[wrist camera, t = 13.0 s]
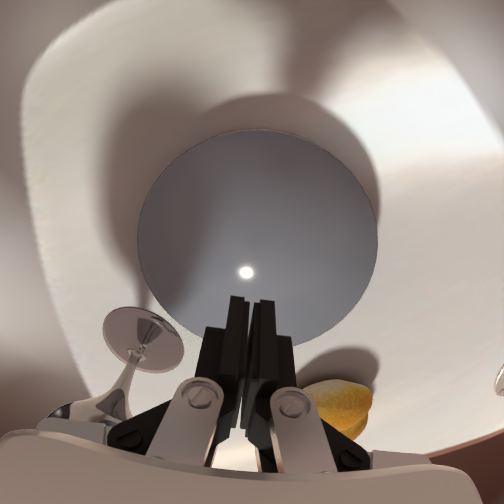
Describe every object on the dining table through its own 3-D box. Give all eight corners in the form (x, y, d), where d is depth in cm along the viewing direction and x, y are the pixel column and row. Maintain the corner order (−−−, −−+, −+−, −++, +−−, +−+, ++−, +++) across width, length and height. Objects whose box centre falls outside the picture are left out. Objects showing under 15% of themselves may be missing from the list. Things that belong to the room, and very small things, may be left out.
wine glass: (140, 384, 26) (92, 525, 12) (81, 323, 23) (-5, 465, 10) (208, 361, 24) (175, 540, 10) (145, 287, 21) (47, 477, 8)
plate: (390, 154, 17) (404, 159, 15) (335, 340, 23) (340, 358, 21) (153, 118, 16) (141, 119, 14) (151, 316, 22) (143, 333, 20)
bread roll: (372, 366, 23) (386, 403, 20) (360, 420, 27) (368, 451, 24) (274, 382, 24) (277, 422, 20) (281, 432, 28) (283, 466, 24)
